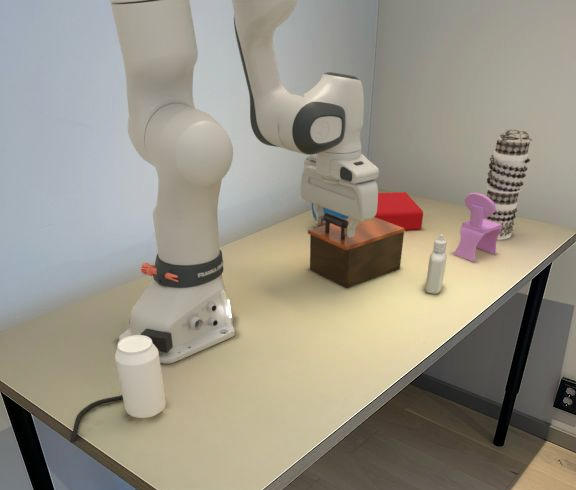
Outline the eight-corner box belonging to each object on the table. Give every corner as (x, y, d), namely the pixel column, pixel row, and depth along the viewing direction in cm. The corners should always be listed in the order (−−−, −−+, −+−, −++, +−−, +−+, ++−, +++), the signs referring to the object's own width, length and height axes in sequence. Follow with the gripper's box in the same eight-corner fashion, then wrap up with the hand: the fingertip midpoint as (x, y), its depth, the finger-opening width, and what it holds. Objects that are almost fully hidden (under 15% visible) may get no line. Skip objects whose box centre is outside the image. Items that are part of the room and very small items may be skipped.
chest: (346, 288, 126) (349, 249, 121) (309, 269, 134) (310, 232, 129) (400, 269, 134) (404, 231, 129) (361, 252, 143) (364, 217, 138)
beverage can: (138, 395, 94) (126, 329, 87) (173, 401, 92) (164, 335, 86) (118, 417, 89) (104, 350, 82) (155, 425, 88) (143, 357, 81)
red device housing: (354, 210, 168) (355, 193, 166) (402, 208, 170) (404, 191, 167) (368, 232, 154) (370, 213, 151) (421, 230, 155) (423, 211, 152)
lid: (346, 250, 121) (347, 227, 118) (307, 233, 129) (307, 211, 126) (404, 231, 129) (406, 209, 127) (364, 216, 138) (366, 195, 135)
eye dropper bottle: (449, 288, 126) (458, 234, 119) (433, 296, 123) (442, 241, 116) (432, 281, 129) (440, 228, 122) (417, 289, 126) (424, 235, 119)
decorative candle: (493, 225, 158) (513, 126, 144) (520, 235, 152) (544, 133, 137) (468, 231, 154) (486, 130, 140) (495, 242, 148) (517, 137, 133)
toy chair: (500, 254, 141) (514, 192, 133) (477, 263, 137) (490, 199, 128) (472, 244, 147) (484, 183, 138) (449, 252, 142) (460, 190, 134)
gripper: (293, 155, 122) (293, 220, 130) (361, 177, 109) (357, 247, 117) (316, 151, 125) (315, 214, 133) (385, 171, 112) (379, 240, 120)
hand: (335, 230), depth 125 cm, fingers open, 7 cm apart
